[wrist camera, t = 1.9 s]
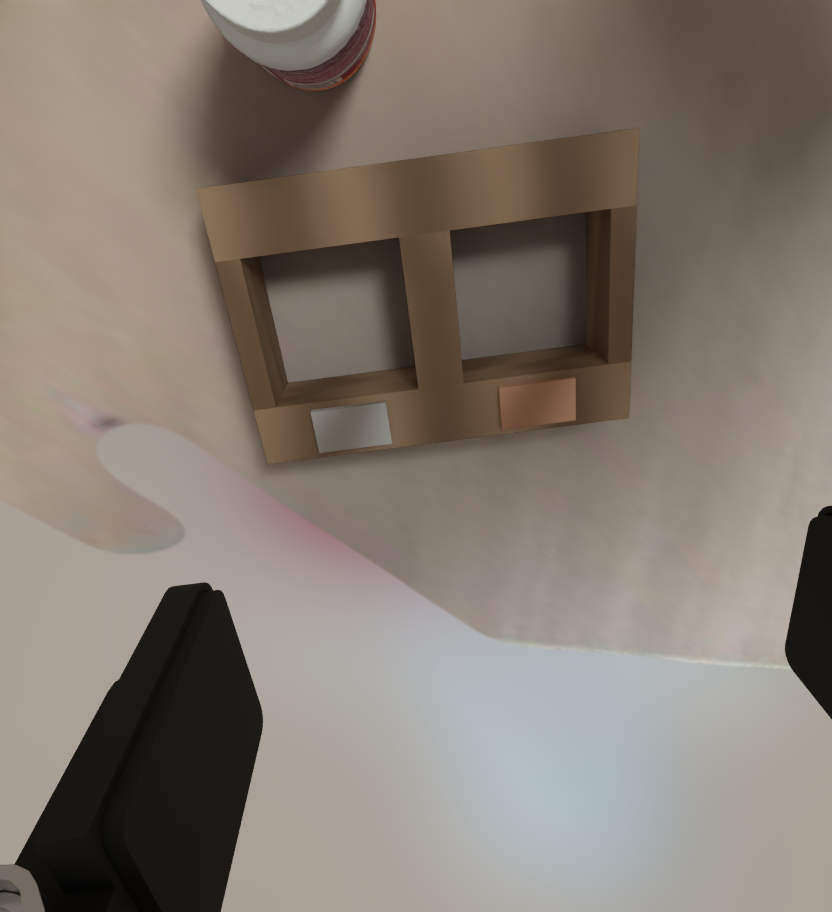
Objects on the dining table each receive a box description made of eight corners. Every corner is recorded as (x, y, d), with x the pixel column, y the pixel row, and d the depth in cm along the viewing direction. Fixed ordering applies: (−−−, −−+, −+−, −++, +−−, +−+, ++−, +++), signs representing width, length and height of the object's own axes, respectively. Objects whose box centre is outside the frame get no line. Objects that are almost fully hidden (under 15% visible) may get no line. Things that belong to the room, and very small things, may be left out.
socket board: (609, 132, 30) (642, 127, 26) (605, 392, 36) (631, 420, 32) (218, 186, 31) (193, 189, 27) (279, 434, 37) (266, 466, 33)
